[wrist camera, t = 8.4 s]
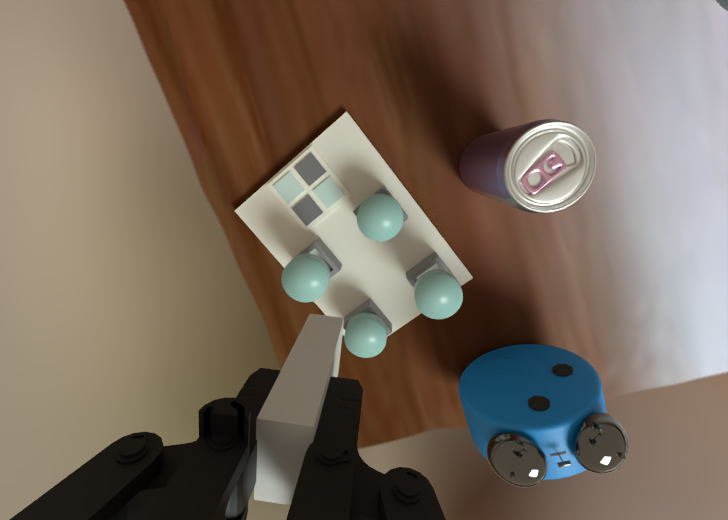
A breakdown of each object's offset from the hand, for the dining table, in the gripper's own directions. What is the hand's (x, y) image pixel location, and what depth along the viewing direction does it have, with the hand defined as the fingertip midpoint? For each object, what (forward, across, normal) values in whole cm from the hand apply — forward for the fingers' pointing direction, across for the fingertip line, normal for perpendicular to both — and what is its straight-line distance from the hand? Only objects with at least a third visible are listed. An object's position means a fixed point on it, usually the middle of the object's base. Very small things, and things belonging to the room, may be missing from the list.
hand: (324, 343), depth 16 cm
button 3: (+21, +8, -4) cm, 23 cm away
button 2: (+21, -5, -4) cm, 22 cm away
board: (+25, -1, -1) cm, 25 cm away
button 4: (+24, +2, -10) cm, 26 cm away
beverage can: (+25, +12, +9) cm, 29 cm away
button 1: (+24, +2, +3) cm, 24 cm away
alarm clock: (+25, +19, -14) cm, 34 cm away
